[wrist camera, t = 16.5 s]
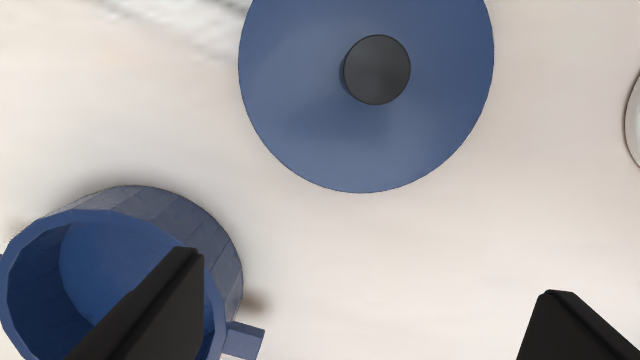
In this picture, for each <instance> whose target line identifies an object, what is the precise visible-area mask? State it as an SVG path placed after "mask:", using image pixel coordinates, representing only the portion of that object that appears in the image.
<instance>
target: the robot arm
mask: <svg viewBox="0 0 640 360" xmlns="http://www.w3.org/2000/svg"><path fill="white" fill-rule="evenodd" d="M625 135H626V139H627V144H628V148H629V150H630V152H631V154H632V156H633V158H634V160H635V162H636V163H637V164H638V165H639V166H640V77H639V78H638V80H637V82H636V84H635V86H634V88H633V91H632V94H631V96H630V99H629V101H628V106H627V112H626V117H625ZM203 333H204V255H203V254H199V252H198V249H197V248H192V247H183V246H175V247H173V248H172V250H171V251H170V252H169V253H168V254H167V255H166V256H165V257H164V258H163V259H162V260H161V261H160V262H159V263H158V264H157V265H156V266H155V268H154V269H153V270H152V271H151V272H150V273H149V274H148V275H147V276H146V277H145V278H144V279H143V280H142V281H141V282H140V283H139V285H138V286H137V287H136V288H135V289H134V290H133V291H129V292H128V293H127V294H126V295H124V297H123V298H122V299H121V300H120V301H119V302H118V303H117V304H116V305H115V306H114V307H113V308H112V309H111V310H110V311H109V312H108V313H107V314H106V315H105V316H104V317H103V318H102V319H101V320H100V322H99V323H98V324H97V325H96V326H95V327H94V328H93V329H92V330H91V331H90V332H89V333H88V334H87V335H86V336H85V337H84V338H83V339H82V340H81V341H80V342H79V343H78V344H77V345H76V347H75V348H74V349H73V350H72V351H71V352H70V353H69V354H68V355H67V356H66V357H65V358H64V359H63V360H194V359H195V357H196V355H197V353H198V351H199V349H200V347H201V344H202V340H203ZM516 360H640V351H639V350H638V349H637V348H636V347H634V346H633V345H632V344H631V343H630V342H629V341H628V340H627V339H625V338H624V337H623V336H622V335H621V334H620V333H619V332H618V331H616V330H615V329H614V328H613V327H612V326H611V325H610V324H609V323H607V322H606V321H605V320H604V319H603V318H602V317H601V316H600V315H598V314H597V313H596V312H595V311H594V310H593V309H592V308H591V307H589V306H588V305H587V304H586V303H585V302H584V301H583V300H581V299H580V298H579V297H578V296H577V295H576V294H574V293H573V292H568V291H560V290H551V289H549V290H546V291H545V292H544V294H541V295H539V296H538V298H537V301H536V304H535V307H534V310H533V313H532V315H531V318H530V321H529V324H528V327H527V330H526V333H525V336H524V338H523V341H522V344H521V347H520V350H519V353H518V356H517V359H516Z"/></svg>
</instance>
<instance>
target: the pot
mask: <svg viewBox="0 0 640 360" xmlns="http://www.w3.org/2000/svg"><path fill="white" fill-rule="evenodd" d="M175 246H183V247H192V248H197V249H198V252H199V254H203V255H204V333H203V340H202V344H201V347H200V349H199V351H198V353H197V355H196V357H195V359H194V360H219V359H220V356H221V353H225V354H228V355H232V356H235V357H239V358H242V359H246V360H256V358H257V355H258V352H259V349H260V346H261V343H262V340H263V337H264V333H265V330H263V329H260V328H256V327H253V326H250V325H246V324H243V323H239V322H236V321H234V320H235V317H236V314H237V311H238V307H239V304H240V301H241V298H242V293H243V292H242V291H243V275H242V268H241V264H240V260H239V257H238V254H237V252H236V249H235V247H234V245H233V244H232V242H231V240H230V238H229V237H228V235H227V234H226V233H225V231H224V230H223V228H222V227H221V226H220V225H219V224H218V223H217V222H216V221H215V220H214V219H213V218H212V217H211V216H210V215H209V214H208V213H207V212H205V211H204V210H203V209H202V208H200V207H199V206H197V205H196V204H194V203H193V202H191V201H189V200H187V199H185V198H183V197H181V196H179V195H176V194H174V193H171V192H168V191H166V190H161V189H157V188H153V187H146V186H120V187H113V188H109V189H105V190H102V191H99V192H97V193H94V194H91V195H87V196H85V197H83V198H81V199H79V200H77V201H75V202H72V203H70V204H68V205H66V206H64V207H62V208H60V209H58V210H56V211H54V212H52V213H50V214H48V215H46V216H43V217H41V218H39V219H37V220H35V221H34V222H33V223H32V224H30V225H29V226H28V227H27V228H25V229H24V230H23V231H22V232H20V233H19V234H18V235H17V236H15V237H14V238H13V239H12V240H11V241H10V242H9V244H8V246H7V248H6V250H5V252H4V254H3V255H2V254H0V321H1V324H2V327H3V329H4V331H5V333H6V334H7V336H8V337H9V339H10V340H11V342H12V343H13V344H14V346H15V347H16V349H17V350H18V352H19V353H20V355H21V356H22V357H23V358H24V359H25V360H63V359H64V358H65V357H66V356H67V355H68V354H69V353H70V352H71V351H72V350H73V349H74V348H75V347H76V345H77V344H78V343H79V342H80V341H81V340H82V339H83V338H84V337H85V336H86V335H87V334H88V333H89V332H90V331H91V330H92V329H93V328H94V327H95V326H96V325H97V324H98V323H99V322H100V320H101V319H102V318H103V317H104V316H105V315H106V314H107V313H108V312H109V311H110V310H111V309H112V308H113V307H114V306H115V305H116V304H117V303H118V302H119V301H120V300H121V299H122V298H123V297H124V295H126V294H127V293H128V292H129V291H133V290H134V289H135V288H136V287H137V286H138V285H139V283H140V282H141V281H142V280H143V279H144V278H145V277H146V276H147V275H148V274H149V273H150V272H151V271H152V270H153V269H154V268H155V266H156V265H157V264H158V263H159V262H160V261H161V260H162V259H163V258H164V257H165V256H166V255H167V254H168V253H169V252H170V251H171V250H172V248H173V247H175Z"/></svg>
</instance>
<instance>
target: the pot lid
mask: <svg viewBox="0 0 640 360" xmlns="http://www.w3.org/2000/svg"><path fill="white" fill-rule="evenodd" d="M493 65H494V42H493V34H492V27H491V23H490V19H489V15H488V11H487V8H486V6H485V3H484V1H483V0H253V2H252V4H251V6H250V8H249V11H248V13H247V16H246V19H245V22H244V26H243V29H242V34H241V39H240V45H239V57H238V71H239V83H240V89H241V94H242V99H243V102H244V105H245V108H246V111H247V114H248V116H249V119H250V121H251V123H252V125H253V127H254V129H255V131H256V132H257V134H258V135H259V137H260V139H261V140H262V142H263V143H264V144H265V146H266V147H267V148H268V149H269V151H270V152H271V153H272V154H273V155H274V156H275V157H276V158H277V159H278V160H279V161H280V162H281V163H282V164H283V165H284V166H286V167H287V168H288V169H290V170H291V171H293V172H294V173H295V174H297V175H298V176H300V177H302V178H304V179H306V180H308V181H309V182H312V183H314V184H317V185H319V186H322V187H324V188H328V189H332V190H336V191H341V192H349V193H373V192H381V191H386V190H390V189H394V188H398V187H401V186H404V185H406V184H409V183H411V182H414V181H416V180H418V179H419V178H421V177H423V176H425V175H427V174H428V173H430V172H431V171H433V170H434V169H436V168H437V167H439V166H440V165H441V164H442V163H443V162H444V161H446V160H447V159H448V158H449V157H450V156H451V155H452V154H453V153H454V152H455V151H456V150H457V149H458V148H459V147H460V145H461V144H462V143H463V142H464V140H465V139H466V138H467V136H468V135H469V133H470V132H471V131H472V129H473V127H474V125H475V124H476V122H477V120H478V118H479V116H480V114H481V112H482V109H483V107H484V104H485V102H486V99H487V96H488V92H489V88H490V85H491V81H492V73H493Z"/></svg>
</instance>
